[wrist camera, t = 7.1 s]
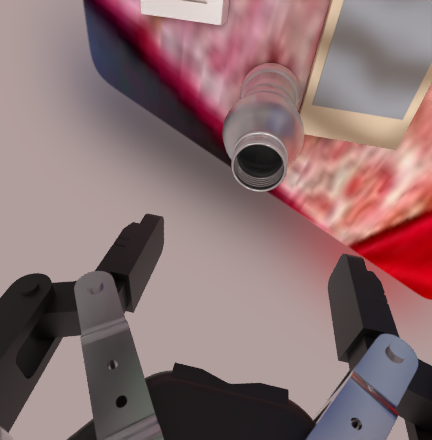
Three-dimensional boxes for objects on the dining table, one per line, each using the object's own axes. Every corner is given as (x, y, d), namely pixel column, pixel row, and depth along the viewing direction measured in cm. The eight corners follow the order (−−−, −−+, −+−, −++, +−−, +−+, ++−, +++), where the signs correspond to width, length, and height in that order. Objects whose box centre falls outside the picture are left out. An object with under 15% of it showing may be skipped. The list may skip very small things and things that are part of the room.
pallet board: (350, -72, 26) (354, -75, 24) (494, -55, 25) (506, -57, 24) (294, 128, 37) (295, 133, 36) (392, 144, 36) (396, 150, 35)
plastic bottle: (267, 128, 38) (255, 224, 22) (231, 87, 35) (189, 161, 20) (310, 92, 34) (332, 176, 19) (273, 43, 32) (263, 93, 16)
